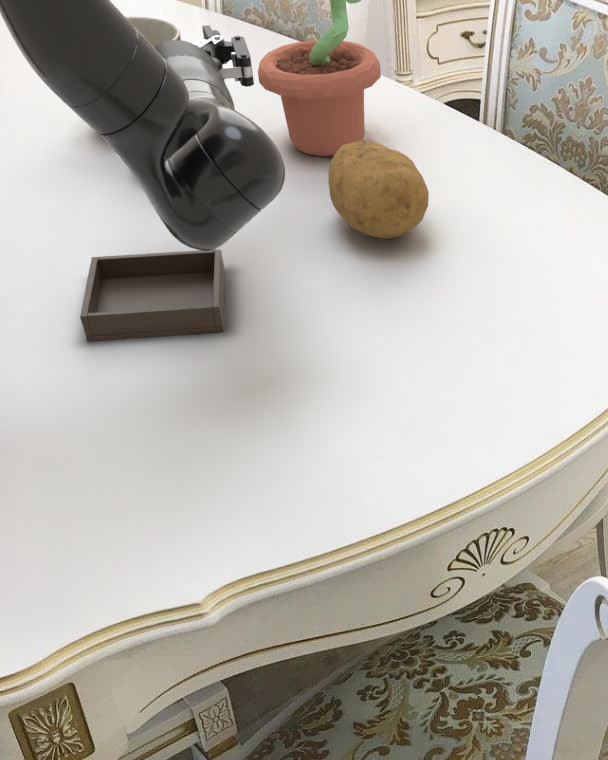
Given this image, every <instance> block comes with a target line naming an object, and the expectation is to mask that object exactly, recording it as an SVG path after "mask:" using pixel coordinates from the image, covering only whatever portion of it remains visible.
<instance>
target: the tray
mask: <svg viewBox="0 0 608 760" xmlns="http://www.w3.org/2000/svg"><path fill="white" fill-rule="evenodd" d="M225 283H226V270H225V265H224V259H223V254H222V249H220V248H217V249H214V250H208V251H204V250H186V251H169V252H168V251H167V252H153V253H152V252H151V253H138V254H137V253H136V254H121V255H120V254H119V255H104V256H91V259H90V264H89V269H88V275H87V279H86V286H85V289H84V290H85V291H84V296H83V300H82V306H81V310H80V314H79V315H80V316H79V319H80V321H81V326H82V328H83V331H84V335H85V339H86V341H87V342H95V341H106V340H107V341H108V340H110V341H111V340H122V339H136V338H150V337H151V338H152V337H166V336H179V335H192V334H194V335H195V334H206V333H222V332H225V295H226V294H225V291H226V290H225V289H226V284H225Z"/></svg>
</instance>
